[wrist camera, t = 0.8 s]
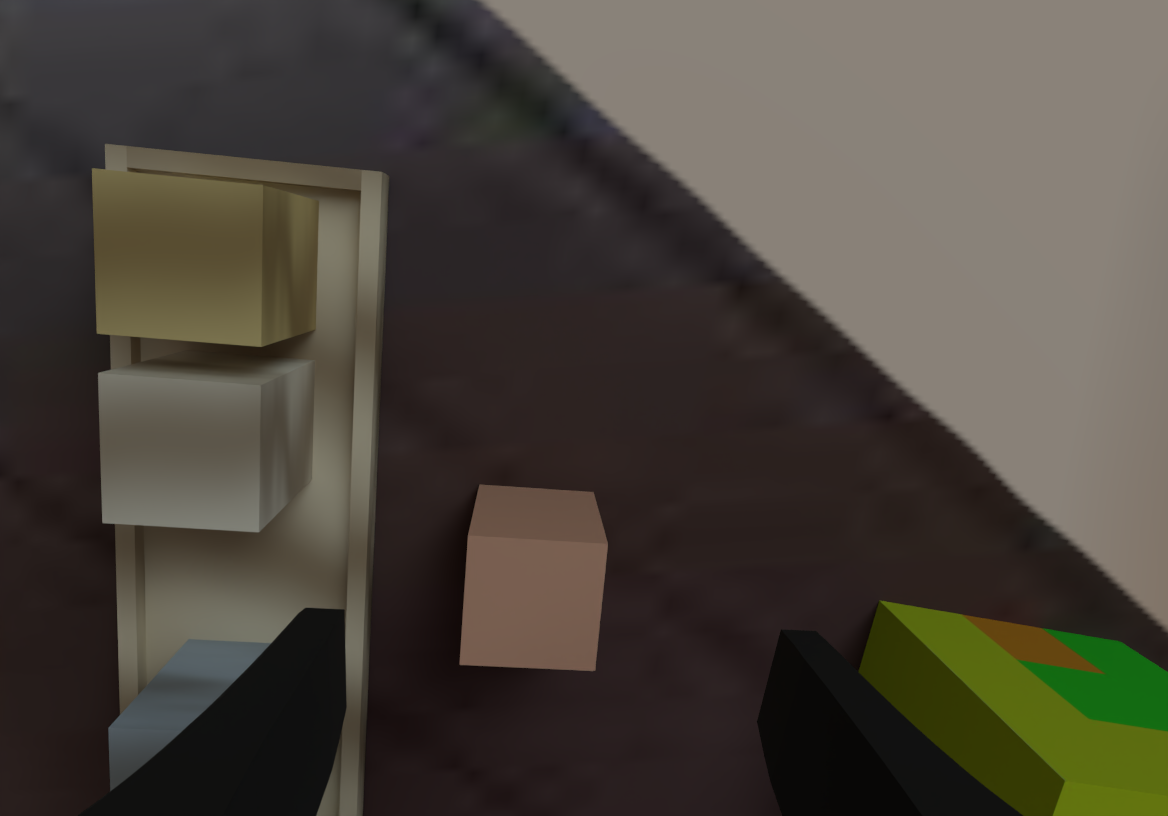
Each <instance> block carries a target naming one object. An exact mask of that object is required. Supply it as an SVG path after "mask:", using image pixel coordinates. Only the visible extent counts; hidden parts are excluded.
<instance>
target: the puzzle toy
mask: <svg viewBox="0 0 1168 816" xmlns="http://www.w3.org/2000/svg"><path fill="white" fill-rule="evenodd" d="M858 672H859V673H860V674H861V675H862V676H863V677H864V678H865V679H866V680H867V681H868V682H869V683H870V684H871V685H872V686H873V687H874V688H875V689H876V690H877V691H878V692H879V693H880V694H881V695H883V696H884V697H885V698H886V699H887V700H888V701H889V702H890V703H891V704H892V705H893V706H894V707H895V708H896V709H897V710H898V711H899V712H900V713H901V714H903V715H904V716H905V717H906V718H907V719H908V720H909V721H910V722H911V723H912V724H913V725H914V726H915V727H917V728H918V729H919V730H920V731H921V732H922V733H923V734H924V735H925V736H927V737H928V738H929V739H930V740H931V741H932V742H933V743H934V744H935V745H937V746H938V747H939V748H940V749H941V750H942V751H944V752H945V753H946V754H947V755H948V756H949V757H951V758H952V759H953V760H954V761H955V762H956V763H958V764H959V765H960V766H961V767H962V768H963V769H965V770H966V771H967V772H968V773H969V774H970V775H972V776H973V777H974V778H975V779H977V780H978V781H979V782H980V783H982V784H983V785H984V786H985V787H987V788H988V789H989V790H990V791H992V792H993V793H994V794H996V795H997V796H998V797H999V798H1001V799H1002V800H1003V801H1005V802H1006V803H1007V804H1009V805H1010V806H1011V807H1013V808H1014V809H1015V810H1017V811H1018V812H1019V813H1021V814H1022V815H1023V816H1168V672H1166V671H1165V670H1163V669H1162V668H1160V667H1159V666H1157V665H1156V664H1154V663H1152V662H1151V661H1149V660H1148V659H1146V658H1145V657H1143V656H1142V655H1140V654H1139V653H1137V652H1135V651H1134V650H1132V649H1131V648H1129V647H1128V646H1126V645H1125V644H1123V643H1121V642H1119V641H1113V640H1107V639H1101V638H1096V637H1090V636H1084V635H1078V634H1072V633H1066V632H1060V631H1055V630H1049V629H1043V628H1037V627H1031V626H1025V625H1019V624H1013V623H1008V622H1002V621H996V620H990V619H984V618H978V617H972V616H967V615H961V614H955V613H949V612H943V611H937V610H931V609H926V608H920V607H914V606H908V605H902V604H896V603H890V602H885V601H879V604H878V607H877V611H876V614H875V617H874V621H873V624H872V628H871V631H870V634H869V638H868V641H867V644H866V648H865V651H864V655H863V658H862V661H861V665H860V668H859V671H858Z"/></svg>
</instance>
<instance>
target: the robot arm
mask: <svg viewBox="0 0 1168 816" xmlns="http://www.w3.org/2000/svg"><path fill="white" fill-rule="evenodd" d="M346 708H347V701H346V653H345V609H325V608H304V609H303V610H302V611H301V612H299V613H298V614H297V615H296V616H295V618H294V619H293V620H292V621H291V622H290V623H289V624H288V625H287V626H286V628H285V629H284V630H283V631H282V632H281V633H280V634H279V635H278V636H277V637H276V639H275V640H274V641H273V642H272V643H271V644H270V645H269V646H268V647H267V648H266V649H265V650H264V651H263V653H262V654H261V655H260V656H259V657H258V658H257V659H256V660H255V661H254V662H253V663H252V664H251V665H250V666H249V667H248V668H247V669H246V670H245V671H244V672H243V673H242V674H241V675H240V676H239V677H238V678H237V679H236V680H235V681H234V682H233V683H232V684H231V685H230V686H229V687H228V688H227V689H226V690H225V691H224V692H223V693H222V694H221V695H220V696H219V697H218V698H217V699H216V700H215V701H214V702H213V703H212V704H211V705H210V706H209V707H208V708H207V709H206V710H205V711H204V712H203V713H201V714H200V715H199V716H198V717H197V718H196V719H195V720H194V721H193V722H192V723H190V724H189V725H188V726H187V727H186V728H185V729H184V730H183V731H182V732H181V733H179V734H178V735H177V736H176V737H175V738H174V739H173V740H172V741H171V742H170V743H168V744H167V745H166V746H165V747H164V748H163V749H162V750H160V751H159V752H158V753H157V754H156V755H155V756H153V757H152V758H151V759H150V760H149V761H147V762H146V763H145V764H144V765H143V766H141V767H140V768H139V769H138V770H137V771H135V772H134V773H133V774H132V775H130V776H129V777H128V778H127V779H125V780H124V781H123V782H122V783H120V784H119V785H118V786H116V787H115V788H114V789H113V790H111V791H110V792H109V793H108V794H106V795H105V796H104V797H102V798H101V799H100V800H98V801H97V802H96V803H94V804H93V805H92V806H90V807H89V808H88V809H86V810H85V811H83V812H82V813H81V814H79V815H78V816H316V815H317V812H318V809H319V807H320V804H321V801H322V798H323V795H324V792H325V789H326V787H327V784H328V781H329V778H330V775H331V772H332V769H333V764H334V760H335V756H336V752H337V748H338V744H339V739H340V735H341V730H342V726H343V722H344V717H345V713H346ZM757 723H758V728H759V732H760V737H761V742H762V747H763V751H764V756H765V760H766V764H767V769H768V773H769V777H770V781H771V784H772V787H773V790H774V793H775V796H776V799H777V802H778V804H779V807H780V810H781V813H782V816H1023V815H1022V814H1021V813H1019V812H1018V811H1017V810H1015V809H1014V808H1013V807H1011V806H1010V805H1009V804H1007V803H1006V802H1005V801H1003V800H1002V799H1001V798H999V797H998V796H997V795H996V794H994V793H993V792H992V791H990V790H989V789H988V788H987V787H985V786H984V785H983V784H982V783H980V782H979V781H978V780H977V779H975V778H974V777H973V776H972V775H970V774H969V773H968V772H967V771H966V770H965V769H963V768H962V767H961V766H960V765H959V764H958V763H956V762H955V761H954V760H953V759H952V758H951V757H949V756H948V755H947V754H946V753H945V752H944V751H942V750H941V749H940V748H939V747H938V746H937V745H935V744H934V743H933V742H932V741H931V740H930V739H929V738H928V737H927V736H925V735H924V734H923V733H922V732H921V731H920V730H919V729H918V728H917V727H915V726H914V725H913V724H912V723H911V722H910V721H909V720H908V719H907V718H906V717H905V716H904V715H903V714H901V713H900V712H899V711H898V710H897V709H896V708H895V707H894V706H893V705H892V704H891V703H890V702H889V701H888V700H887V699H886V698H885V697H884V696H883V695H881V694H880V693H879V692H878V691H877V690H876V689H875V688H874V687H873V686H872V685H871V684H870V683H869V682H868V681H867V680H866V679H865V678H864V677H863V676H862V675H861V674H860V673H859V672H858V671H857V670H856V669H855V668H854V667H853V666H852V665H851V664H850V663H849V662H848V661H847V660H846V659H845V658H844V657H843V656H842V655H841V654H840V653H838V652H837V651H836V650H835V649H834V648H833V647H832V646H831V645H830V644H829V643H828V642H827V641H826V640H825V639H824V638H823V637H822V636H821V635H819V634H818V633H817V632H816V631H799V630H781V632H780V635H779V639H778V643H777V647H776V651H775V655H774V659H773V662H772V666H771V670H770V674H769V678H768V682H767V686H766V690H765V693H764V697H763V701H762V705H761V709H760V713H759V717H758V720H757Z"/></svg>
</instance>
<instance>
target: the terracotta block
mask: <svg viewBox="0 0 1168 816" xmlns="http://www.w3.org/2000/svg"><path fill="white" fill-rule="evenodd" d="M607 548H608V542H607V539H606V535H605V532H604V528H603V525H602V521H601V517H600V514H599V510H598V507H597V503H596V499H595V496H594V492H583V491H568V490H553V489H538V488H523V487H508V486H493V485H479V489H478V493H477V497H476V502H475V506H474V511H473V515H472V520H471V524H470V529H469V533H468V543H467V558H466V574H465V589H464V604H463V619H462V635H461V650H460V665H474V666H496V667H518V668H540V669H562V670H584V671H595V666H596V656H597V646H598V636H599V626H600V617H601V607H602V597H603V587H604V577H605V568H606V558H607Z"/></svg>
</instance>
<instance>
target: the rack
mask: <svg viewBox="0 0 1168 816" xmlns="http://www.w3.org/2000/svg"><path fill="white" fill-rule="evenodd" d="M105 161H106V170H105V169H94V168H92V186H93V220H94V253H95V287H96V321H97V334H107V335H110V352H111V370H108V371H104V372H100V373H98V389H99V423H100V457H101V491H102V523H111V524H115V543H116V581H117V619H118V657H119V695H120V716H119V717H118V718H117V719H116V720H115V721H114V722H113V724H112V725H111V726H110V727H109V728H108V729H109V763H110V791H111V790H113V789H114V788H115V787H116V786H118V785H119V784H120V783H122V782H123V781H124V780H125V779H127V778H128V777H129V776H130V775H132V774H133V773H134V772H135V771H137V770H138V769H139V768H140V767H141V766H143V765H144V764H145V763H146V762H147V761H149V760H150V759H151V758H152V757H153V756H155V755H156V754H157V753H158V752H159V751H160V750H162V749H163V748H164V747H165V746H166V745H167V744H168V743H170V742H171V741H172V740H173V739H174V738H175V737H176V736H177V735H178V734H179V733H181V732H182V731H183V730H184V729H185V728H186V727H187V726H188V725H189V724H190V723H192V722H193V721H194V720H195V719H196V718H197V717H198V716H199V715H200V714H201V713H203V712H204V711H205V710H206V709H207V708H208V707H209V706H210V705H211V704H212V703H213V702H214V701H215V700H216V699H217V698H218V697H219V696H220V695H221V694H222V693H223V692H224V691H225V690H226V689H227V688H228V687H229V686H230V685H231V684H232V683H233V682H234V681H235V680H236V679H237V678H238V677H239V676H240V675H241V674H242V673H243V672H244V671H245V670H246V669H247V668H248V667H249V666H250V665H251V664H252V663H253V662H254V661H255V660H256V659H257V658H258V657H259V656H260V655H261V654H262V653H263V651H264V650H265V649H266V648H267V647H268V646H269V645H270V644H271V643H272V642H273V641H274V640H275V639H276V637H277V636H278V635H279V634H280V633H281V632H282V631H283V630H284V629H285V628H286V626H287V625H288V624H289V623H290V622H291V621H292V620H293V619H294V618H295V616H296V615H297V614H298V613H299V612H301V611H302V610H303V609H304V608H325V609H345V653H346V701H347V708H346V713H345V717H344V722H343V726H342V730H341V735H340V739H339V744H338V748H337V752H336V756H335V760H334V764H333V769H332V772H331V775H330V778H329V781H328V784H327V787H326V789H325V792H324V795H323V798H322V801H321V804H320V807H319V809H318V812H317V815H316V816H363V799H364V775H365V751H366V727H367V702H368V678H369V654H370V630H371V606H372V582H373V558H374V533H375V509H376V485H377V461H378V437H379V413H380V389H381V365H382V340H383V316H384V292H385V268H386V244H387V220H388V196H389V176H388V175H386V174H384V173H383V172H377V171H367V170H357V169H347V168H337V167H327V166H317V165H308V164H298V163H288V162H278V161H268V160H258V159H248V158H239V157H229V156H219V155H209V154H199V153H189V152H180V151H170V150H160V149H150V148H140V147H130V146H120V145H111V144H105Z"/></svg>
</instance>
